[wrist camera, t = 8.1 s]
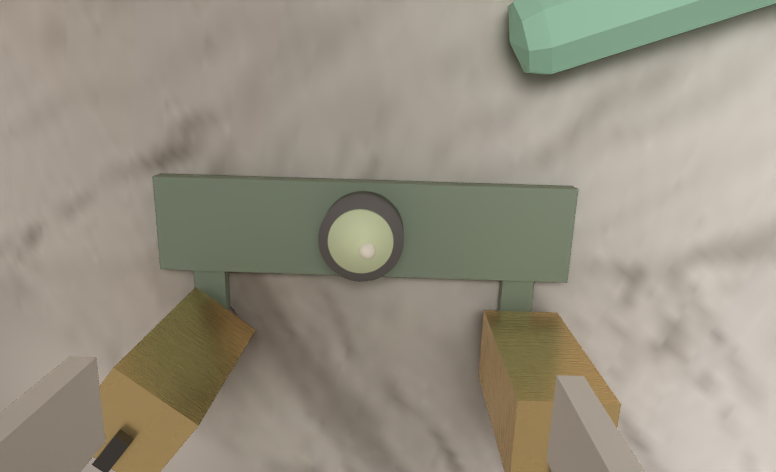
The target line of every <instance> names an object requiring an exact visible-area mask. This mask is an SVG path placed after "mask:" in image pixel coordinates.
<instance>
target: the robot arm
mask: <svg viewBox="0 0 776 472" xmlns="http://www.w3.org/2000/svg"><path fill="white" fill-rule="evenodd" d="M105 442H106V438H105V430H104V421H103V412H102V403H101V395H100V386H99V377H98V368H97V360H96V357H71V356H70V357H68V358H67V359H66V360H65V361H63V362H62V363H61V364H60V365H58V366H57V367H56V368H55V369H54V370H53V371H51V372H50V373H49V374H47V375H46V376H45V377H44V378H42V379H41V380H40V381H39V382H38V383H37V384H35V385H34V386H33V387H31V388H30V389H29V390H28V391H27V392H25V393H24V394H23V395H21V396H20V397H19V398H18V399H17V400H15V401H14V402H13V403H12V404H10V405H9V406H8V407H7V408H5V409H4V410H3V411H2V412H0V472H81V470H82V469H83V468H84V467H85V466H86V465H87V463H88V462H89V461H90V460H91V459H92V457H93V456H94V455H95V454H96V453H97V451H98V450H99V449H100V448H101V447H102V445H103V444H104V443H105ZM547 462H548V464H549V467H550V469H551V472H645V471H644V470H643V468H642V466H641V465H640V463H639V462H638V460H637V459H636V457H635V455H634V454H633V452H632V451H631V449H630V448H629V446H628V444H627V443H626V441H625V440H624V438H623V437H622V435H621V434H620V432H619V430H618V429H617V427H616V426H615V424H614V423H613V421H612V419H611V418H610V416H609V415H608V413H607V412H606V410H605V409H604V407H603V405H602V404H601V402H600V401H599V399H598V398H597V396H596V394H595V393H594V391H593V390H592V388H591V387H590V385H589V383H588V382H587V380H586V379H585V377H584V376H565V375H557V377H556V385H555V393H554V401H553V410H552V418H551V426H550V434H549V443H548V451H547Z"/></svg>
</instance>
